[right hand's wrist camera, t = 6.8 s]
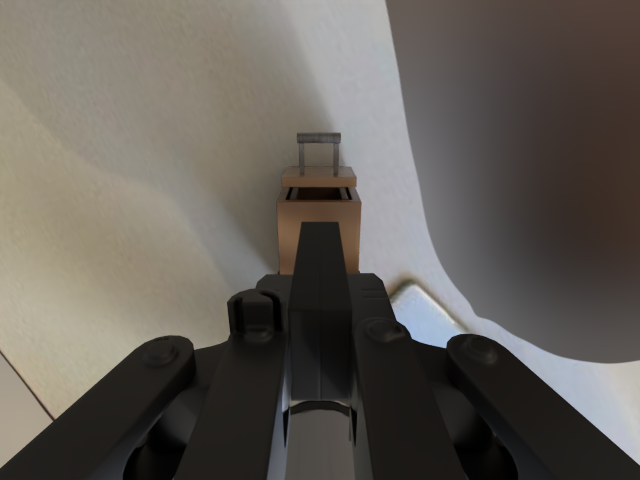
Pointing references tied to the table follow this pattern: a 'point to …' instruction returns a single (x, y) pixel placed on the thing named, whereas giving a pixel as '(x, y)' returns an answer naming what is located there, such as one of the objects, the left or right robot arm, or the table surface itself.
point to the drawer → (318, 173)
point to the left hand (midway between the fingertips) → (319, 278)
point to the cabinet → (318, 211)
